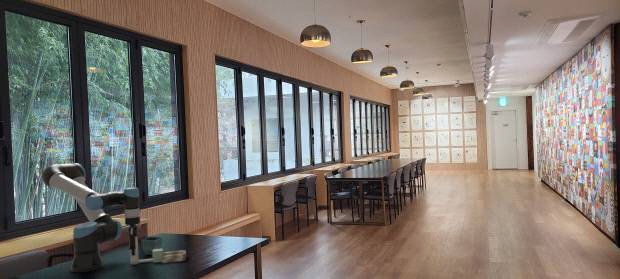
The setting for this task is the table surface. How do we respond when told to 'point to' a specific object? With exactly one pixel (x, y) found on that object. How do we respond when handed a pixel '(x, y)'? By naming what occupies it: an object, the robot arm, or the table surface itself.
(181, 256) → the beige u-shaped frame
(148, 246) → the flower pot
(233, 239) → the table surface
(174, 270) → the table surface
